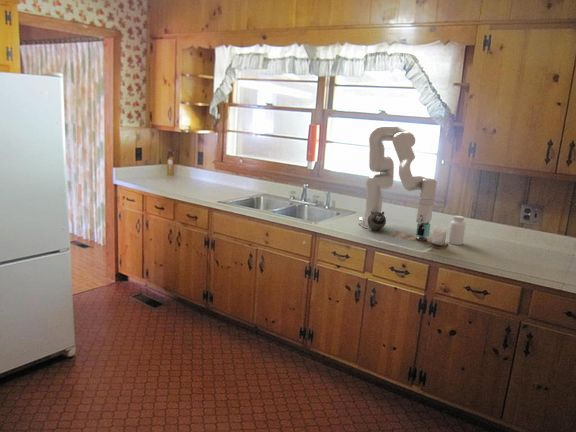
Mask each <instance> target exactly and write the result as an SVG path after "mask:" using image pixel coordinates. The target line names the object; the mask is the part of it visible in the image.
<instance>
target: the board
mask: <svg viewBox="0 0 576 432" xmlns="http://www.w3.org/2000/svg"><path fill="white" fill-rule="evenodd" d="M389 236H390V237H394V238H395V237H396V238H399V239H402V240H408V241H412V242H416V243H420V244H424V245H428V246H429V247H430V248H432V249H437V250H443V249H445V248H446V247H448V246H449V242H448V243H446V242H445V243H444V246H443V247H437V246H434V245H432V238H431V239H430V238H427V241H426V242H421V241H417V240H416V237H417V235H413V234H409V233H404V232H402V231H395V232H392V233H390V234H389Z"/></svg>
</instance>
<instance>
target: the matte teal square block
mask: <svg viewBox="0 0 576 432" xmlns="http://www.w3.org/2000/svg"><path fill="white" fill-rule="evenodd" d="M421 223H423V222H421ZM422 226H423V224H422ZM430 228H431V223H429V224H428V223H425V225H424V235H423V236H421V237H426V238H427V237H429V236H430V230H431V229H430ZM417 234H418V223H416V233H415V236H420V235H417Z"/></svg>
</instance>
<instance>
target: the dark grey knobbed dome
mask: <svg viewBox="0 0 576 432" xmlns="http://www.w3.org/2000/svg"><path fill="white" fill-rule="evenodd" d="M416 236H417V235H416ZM427 239H428V238H427V237H421V236H417V237H416V240H417V241H421V242H426V241H427Z"/></svg>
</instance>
